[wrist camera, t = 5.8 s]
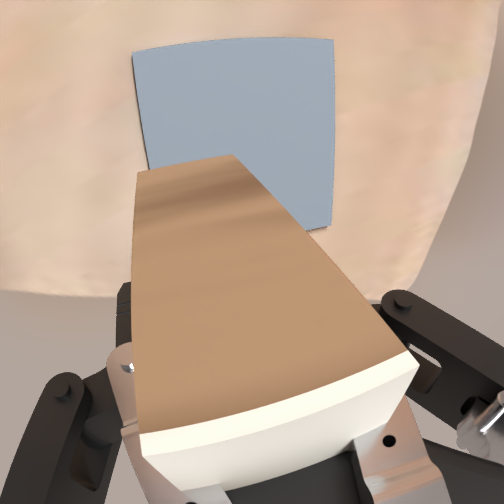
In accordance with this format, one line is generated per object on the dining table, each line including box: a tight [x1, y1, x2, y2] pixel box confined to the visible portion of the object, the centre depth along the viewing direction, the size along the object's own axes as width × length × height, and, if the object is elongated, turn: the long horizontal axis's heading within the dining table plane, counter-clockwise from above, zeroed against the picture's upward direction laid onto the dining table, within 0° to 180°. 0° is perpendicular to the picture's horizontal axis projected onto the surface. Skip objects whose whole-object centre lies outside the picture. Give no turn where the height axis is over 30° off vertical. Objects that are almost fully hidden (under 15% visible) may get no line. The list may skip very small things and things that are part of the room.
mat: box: [132, 37, 335, 231], centre depth 25 cm, size 18×16×1 cm
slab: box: [131, 154, 420, 491], centre depth 9 cm, size 7×4×10 cm, turn 4°
